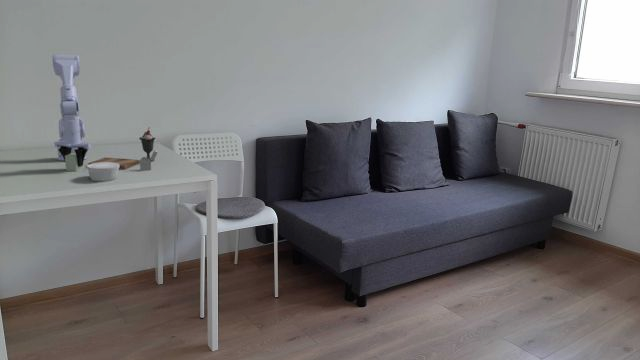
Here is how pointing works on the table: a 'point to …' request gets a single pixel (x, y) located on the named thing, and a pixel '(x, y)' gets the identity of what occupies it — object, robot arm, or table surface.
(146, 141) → the sundae
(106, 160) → the board
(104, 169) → the ramekin
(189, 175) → the table surface
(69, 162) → the block
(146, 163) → the lighter
